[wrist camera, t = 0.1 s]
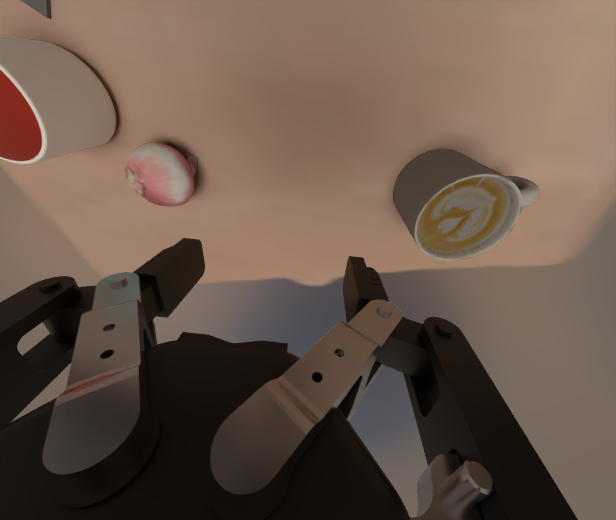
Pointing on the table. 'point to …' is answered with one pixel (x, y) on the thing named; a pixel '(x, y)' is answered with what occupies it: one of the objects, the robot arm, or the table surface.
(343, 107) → the table surface
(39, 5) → the mat
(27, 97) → the cup
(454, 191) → the coffee mug
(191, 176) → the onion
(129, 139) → the table surface
